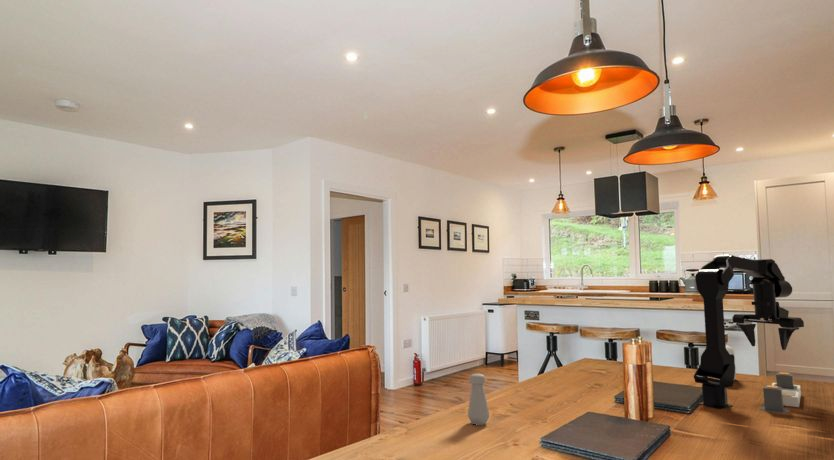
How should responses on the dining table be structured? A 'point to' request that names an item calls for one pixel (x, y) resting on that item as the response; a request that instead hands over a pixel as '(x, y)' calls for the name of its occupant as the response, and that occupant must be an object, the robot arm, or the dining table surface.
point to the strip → (788, 389)
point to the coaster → (774, 411)
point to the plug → (773, 398)
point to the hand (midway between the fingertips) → (768, 348)
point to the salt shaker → (478, 400)
